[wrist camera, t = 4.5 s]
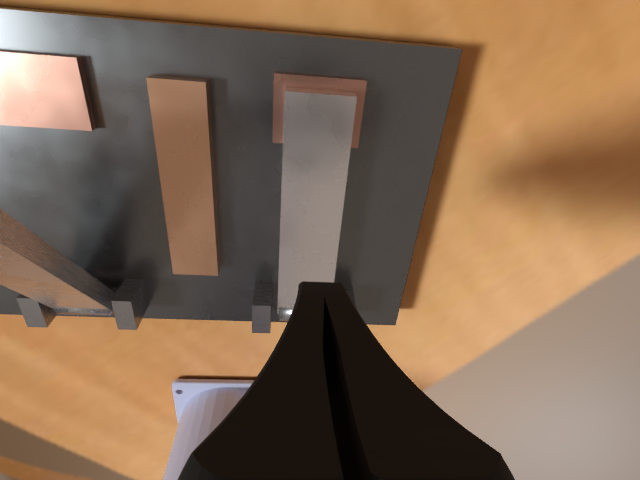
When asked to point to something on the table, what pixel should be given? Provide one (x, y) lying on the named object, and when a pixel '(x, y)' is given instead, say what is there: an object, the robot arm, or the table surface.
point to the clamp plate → (206, 158)
